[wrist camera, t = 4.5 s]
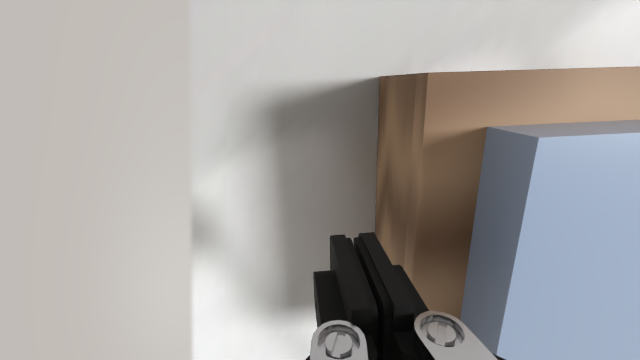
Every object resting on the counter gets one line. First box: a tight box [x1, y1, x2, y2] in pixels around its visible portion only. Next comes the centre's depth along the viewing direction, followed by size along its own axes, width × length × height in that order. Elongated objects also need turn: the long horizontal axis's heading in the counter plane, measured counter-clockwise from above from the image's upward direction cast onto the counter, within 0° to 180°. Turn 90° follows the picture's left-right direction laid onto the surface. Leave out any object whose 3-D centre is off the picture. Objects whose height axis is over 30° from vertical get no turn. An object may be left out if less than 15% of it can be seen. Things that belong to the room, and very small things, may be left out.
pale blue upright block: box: [460, 120, 640, 360], centre depth 12 cm, size 10×7×2 cm
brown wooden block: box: [375, 67, 640, 320], centre depth 16 cm, size 14×20×6 cm
